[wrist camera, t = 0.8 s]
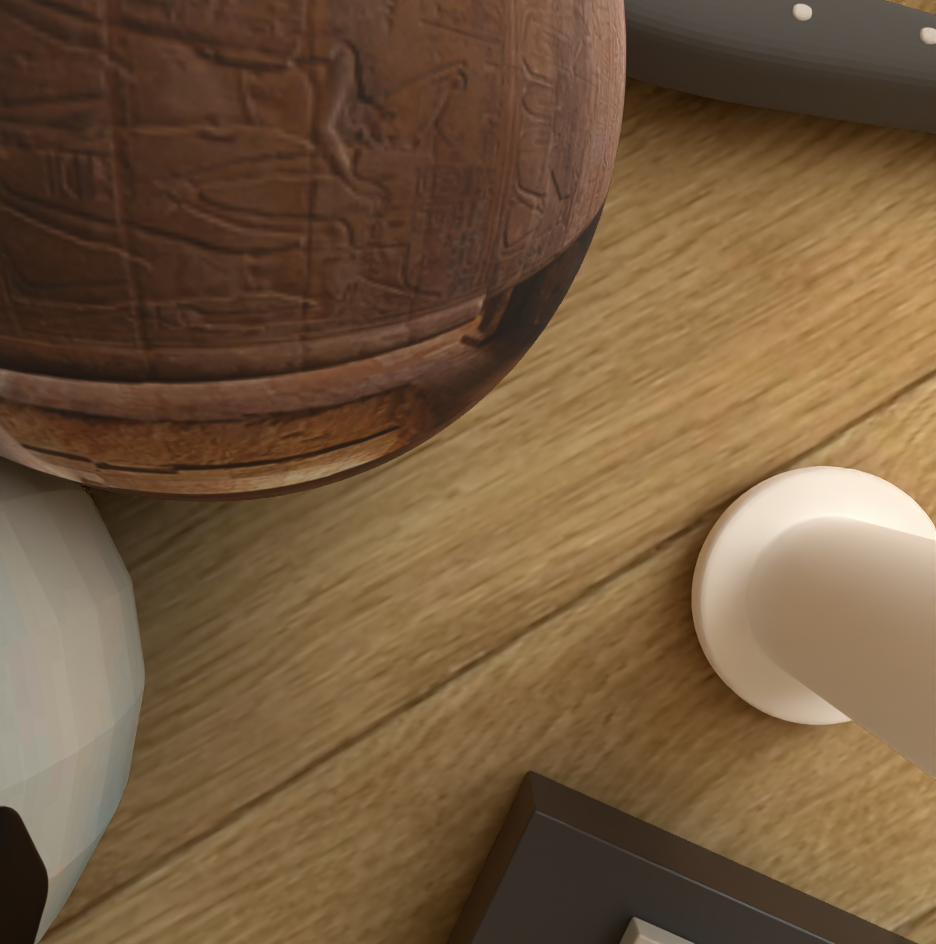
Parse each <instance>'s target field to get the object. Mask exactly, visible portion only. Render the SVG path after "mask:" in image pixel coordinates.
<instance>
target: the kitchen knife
mask: <svg viewBox="0 0 936 944" xmlns="http://www.w3.org/2000/svg"><path fill="white" fill-rule="evenodd" d="M624 12H625V28H626V76H627V77H630V78H633V79H636V80H639V81H643V82H646V83H650V84H653V85H657V86H660V87H664V88H668V89H672V90H676V91H680V92H684V93H688V94H693V95H697V96H702V97H706V98H711V99H716V100H721V101H727V102H732V103H737V104H743V105H748V106H753V107H759V108H766V109H772V110H779V111H785V112H792V113H798V114H805V115H811V116H818V117H824V118H831V119H837V120H844V121H850V122H857V123H863V124H870V125H876V126H883V127H889V128H897V129H904V130H911V131H918V132H925V133H932V134H936V15H933V14H930V13H927V12H923V11H920V10H916V9H913V8H910V7H906V6H903V5H900V4H896V3H893V2H889V1H886V0H624Z"/></svg>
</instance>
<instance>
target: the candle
mask: <svg viewBox="0 0 936 944" xmlns="http://www.w3.org/2000/svg"><path fill="white" fill-rule="evenodd" d="M691 595H692V614H693V621H694V625H695V630H696V633H697V636H698V639H699V643H700V645H701V647H702V650H703V652H704V654H705V656H706V658H707V659H708V661H709V663H710V665H711V666H712V668H713V669H714V670H715V672H716V673H717V675H718V676H719V677H720V678H721V679H722V680H723V682H724V683H725V684H726V685H727V686H728V687H729V688H731V689H732V690H733V691H734V692H735V693H736V694H737V695H738V696H739V697H740V698H742V699H743V700H745V701H746V702H747V703H749V704H750V705H752V706H753V707H755V708H757V709H758V710H760V711H762V712H764V713H766V714H768V715H771V716H773V717H776V718H779V719H782V720H785V721H789V722H794V723H799V724H807V725H829V724H837V723H843V722H848V721H852V720H853V721H854V722H855V723H857V724H858V725H860V726H861V727H862V728H864V729H865V730H867V731H868V732H869V733H871V734H872V735H873V736H875V737H876V738H878V739H879V740H880V741H882V742H883V743H885V744H886V745H887V746H889V747H890V748H891V749H893V750H894V751H896V752H897V753H898V754H900V755H901V756H902V757H904V758H905V759H907V760H908V761H909V762H911V763H912V764H914V765H915V766H916V767H918V768H919V769H920V770H922V771H923V772H925V773H926V774H927V775H929V776H930V777H932V778H933V779H934V780H936V528H935V526H934V525H933V523H932V522H931V520H930V519H929V517H928V516H927V514H926V513H925V512H924V511H923V510H922V508H921V507H920V506H919V505H918V504H917V503H916V502H915V501H914V500H913V499H912V498H911V497H909V496H908V495H907V494H906V493H904V492H903V491H902V490H900V489H899V488H897V487H896V486H894V485H893V484H891V483H889V482H887V481H885V480H883V479H881V478H879V477H877V476H874V475H872V474H869V473H866V472H862V471H858V470H854V469H847V468H841V467H831V466H814V467H805V468H799V469H795V470H791V471H787V472H784V473H781V474H778V475H775V476H773V477H771V478H769V479H766V480H764V481H762V482H761V483H759V484H757V485H756V486H754V487H752V488H751V489H749V490H748V491H747V492H745V493H744V494H742V495H741V496H740V497H739V498H738V499H737V500H735V501H734V502H733V503H732V504H731V505H730V506H729V507H728V508H727V509H726V511H725V512H724V513H723V514H722V515H721V516H720V518H719V519H718V520H717V522H716V523H715V524H714V526H713V528H712V529H711V531H710V532H709V534H708V536H707V538H706V540H705V542H704V544H703V546H702V549H701V551H700V554H699V556H698V560H697V563H696V567H695V571H694V576H693V582H692V594H691Z"/></svg>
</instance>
